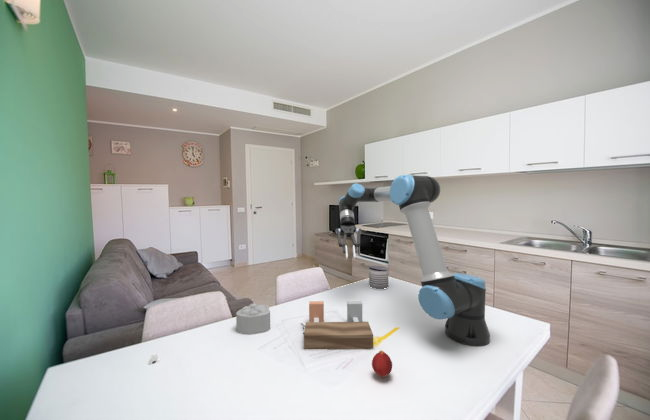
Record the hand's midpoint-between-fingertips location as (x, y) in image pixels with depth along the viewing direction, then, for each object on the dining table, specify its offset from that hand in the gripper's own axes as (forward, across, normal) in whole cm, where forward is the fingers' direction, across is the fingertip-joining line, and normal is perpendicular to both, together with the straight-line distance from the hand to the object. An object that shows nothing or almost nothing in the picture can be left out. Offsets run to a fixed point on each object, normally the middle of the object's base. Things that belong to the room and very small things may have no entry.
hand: (350, 258), depth 126 cm
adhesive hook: (+45, +68, +10) cm, 83 cm away
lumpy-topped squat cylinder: (+30, +42, -4) cm, 51 cm away
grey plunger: (+30, 0, -3) cm, 30 cm away
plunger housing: (+38, +8, +4) cm, 39 cm away
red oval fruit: (+52, -4, +17) cm, 54 cm away
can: (-5, -20, -39) cm, 44 cm away
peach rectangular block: (+30, +16, -3) cm, 34 cm away
